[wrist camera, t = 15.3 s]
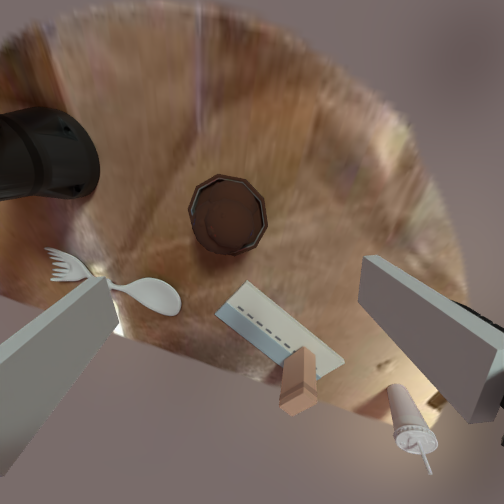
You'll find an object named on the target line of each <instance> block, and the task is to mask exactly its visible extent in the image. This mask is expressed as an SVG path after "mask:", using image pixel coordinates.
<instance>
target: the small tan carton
mask: <svg viewBox="0 0 504 504" xmlns="http://www.w3.org/2000/svg"><path fill="white" fill-rule="evenodd" d="M279 400H280V402H279V407H280V408H281V409H283V410H284V411H285V412H287V413H288V414H289V415H291V416H294V415H296V414H298V413H300V412H302V411H304V410H306V409H308V408H310V407H312V406H313V405H315V404H317V386H316V357H315V354H313V353H312V352H311V351H310V350H308V349H307V348H306V347H305V346H304V347H302V348H301V349H300V350H298V351H297V352H295V353H294V354H292V355H291V356H289V357H288V358H286V359H285V360H284V367H283V376H282V385H281V394H280V399H279Z"/></svg>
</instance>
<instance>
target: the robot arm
mask: <svg viewBox="0 0 504 504" xmlns="http://www.w3.org/2000/svg"><path fill="white" fill-rule="evenodd" d="M99 170H100V169H99V160H98V155H97V152H96V149H95V147H94V144H93V142H92V140H91V138H90V137H89V135H88V134H87V132H86V131H85V129H84V128H83V127H82V126H81V125H80V124H79V123H78V122H77V121H76V120H75V119H74V118H73V117H71V116H70V115H68V114H67V113H65V112H63V111H60V110H57V109H52V108H45V107H32V108H27V109H23V110H18V111H14V112H9V113H5V114H0V201H4V200H10V199H16V198H21V197H27V196H33V195H34V196H42V197H50V198H58V199H75V198H79V197H84V196H86V195H88V194H90V193H91V192H92V191H93V190H94V188H95V187H96V185H97V182H98V179H99ZM358 303H359V304H360V305H361V306H362V307H363V308H364V309H365V310H366V311H367V312H368V314H369V315H370V316H371V317H372V318H373V319H374V320H375V321H376V322H377V324H378V325H379V326H380V327H381V328H382V329H383V330H384V331H385V332H386V333H387V335H388V336H389V337H390V338H391V339H392V340H393V341H394V342H395V343H396V344H397V346H398V347H399V348H400V349H401V350H402V351H403V352H404V353H405V354H406V355H407V357H408V358H409V359H410V360H411V361H412V362H413V363H414V364H415V365H416V366H417V368H418V369H419V370H420V371H421V372H422V373H423V374H424V375H425V376H426V377H427V379H428V380H429V381H430V382H431V383H432V384H433V385H434V386H435V387H436V388H437V390H438V391H439V392H440V393H441V394H442V395H443V396H444V397H445V398H446V399H447V401H448V402H449V403H450V404H451V405H452V406H453V407H454V408H455V409H456V410H457V412H458V413H459V414H460V415H461V416H462V417H463V418H464V419H465V420H466V421H467V422H468V424H473V423H482V422H491V421H494V419H495V417H496V415H497V412H498V410H499V408H500V406H501V407H502V408H503V409H504V328H502V327H500V326H499V325H497V324H493V322H492V321H491V320H489V319H487V318H485V317H484V316H481V315H480V314H479V313H477V312H476V311H474V310H472V309H471V308H469V307H467V306H465V305H463V304H460V303H458V302H455V301H453V300H450V299H448V298H446V297H445V296H443V295H441V294H440V293H438V292H436V291H435V290H433V289H432V288H430V287H428V286H427V285H425V284H424V283H422V282H420V281H419V280H417V279H415V278H414V277H412V276H411V275H409V274H407V273H406V272H404V271H402V270H401V269H399V268H398V267H396V266H394V265H393V264H391V263H390V262H388V261H386V260H385V259H383V258H381V257H380V256H378V255H371V256H363V261H362V269H361V278H360V287H359V295H358ZM118 324H119V320H118V317H117V313H116V310H115V307H114V303H113V300H112V297H111V294H110V290H109V287H108V284H107V280H106V277H105V276H103V277H90V278H88V279H87V280H86V281H84V282H83V283H82V284H80V285H79V286H78V287H76V288H75V289H74V290H72V291H71V292H70V293H68V294H67V295H66V296H64V297H63V298H62V299H60V300H59V301H58V302H56V303H55V304H54V305H52V306H51V307H50V308H48V309H47V310H46V311H44V312H43V313H42V314H41V315H39V316H38V317H37V318H35V319H34V320H33V321H31V322H30V323H29V324H27V325H26V326H25V327H23V328H22V329H21V330H19V331H18V332H17V333H15V334H14V335H13V336H11V337H10V338H9V339H7V340H6V341H5V342H3V343H2V344H1V345H0V477H2V476H5V474H6V473H7V472H8V470H9V469H10V468H11V466H12V465H13V464H14V462H15V461H16V460H17V458H18V457H19V456H20V454H21V453H22V452H23V450H24V449H25V448H26V446H27V445H28V444H29V442H30V441H31V440H32V438H33V437H34V436H35V434H36V433H37V432H38V430H39V429H40V428H41V426H42V425H43V424H44V422H45V421H46V420H47V418H48V417H49V415H50V414H51V413H52V412H53V410H54V409H55V408H56V406H57V405H58V404H59V402H60V401H61V400H62V398H63V397H64V396H65V394H66V393H67V392H68V390H69V389H70V388H71V386H72V385H73V384H74V382H75V381H76V380H77V378H78V377H79V376H80V374H81V373H82V371H83V370H84V369H85V368H86V366H87V365H88V364H89V362H90V361H91V360H92V358H93V357H94V356H95V354H96V353H97V352H98V350H99V349H100V348H101V346H102V345H103V343H104V342H105V341H106V340H107V338H108V337H109V336H110V334H111V333H112V332H113V330H114V329H115V328H116V326H117V325H118ZM501 445H502V446H504V435H503V437H502V440H501Z"/></svg>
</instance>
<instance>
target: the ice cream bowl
mask: <svg viewBox="0 0 504 504" xmlns="http://www.w3.org/2000/svg"><path fill="white" fill-rule="evenodd" d="M188 212H189V216H190V220H191V224H192V229H193V231H194V234H195V235H196V239H197V240H198V241H199V242H200V244H202V245H203V246H204V247H205V248H206V249H207V250H208V251H211V252H214V253H216V254H223V255H226V254H228V255H232V256H236V255H239V254H241V253H244V252H246V251H249V250H251V249H254V248H256V247H257V245H258V243H259V241H260V240H261V238H262V236H263V234H264V233H265V231H266V229H267V227H268V222H267V215H266V208H265V201H264V198H263V197H262V196H261V195H260V194H259V193H258V192H257V190H256V189H255V188H254V187H253V186H252V185H251V184H250V183H249V182H248V181H247V180H246V179H242V178H237V177H231V176H226V175H221V174H217V175H215V176H213V177H212V178H210V179H208V180H206V181H205V182H203V183H201V184H199V185H198V186H196V188H195V191H194V194H193V196H192V199H191V202H190V205H189V207H188Z"/></svg>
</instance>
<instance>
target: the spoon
mask: <svg viewBox="0 0 504 504" xmlns="http://www.w3.org/2000/svg"><path fill="white" fill-rule="evenodd" d="M44 249H46V250H48V251H51V252H54V253H48V254H50V255H54V256H57V257H50V258H51V259H55V260H59V261H63V262H55V263H52V264H53V265H56V266H60V267H64V268H67V269H52V270H54V271H58V272H62V273H53V274H52V275H55V276H59V277H62V278H51V279H50V280H52V281H79V280H81V279H83V278H85V277H86V278H90V277H95V276H93V275H92V274H91V273H90V271H89V270H88V269H87V268H86V266H85V265H84V264H83V263H82V262H81V261H80V260H79V259H77V258H76V257H74V256H72V255H70V254H67V253H65V252H62V251H60V250H57V249H54V248H51V247H45V248H44ZM106 280H107V284H108V287H109V290H110V291H111V290H112V289H116V290H119V291H123V292H125V293H127V294H129V295H130V296H132V297H133V298H135V299H136V300H137V301H139V302H140V303H142V304H143V305H144V306H146V307H148V308H149V309H151V310H153V311H156V312H158V313H160V314H163V315H167V316H174V315H176V314H178V313H179V311H180V309H181V299H180V296H179V294H178V293H177V292H176V290H175V289H174V288H173V287H171V286H170V285H169V284H167V283H166V282H164V281H162V280H159V279H155V278H143V279H139V280H137V281H134V282H132V283H130V284H128V285H116V284H114V283H113V282H112V281H111V280H110V279H106Z"/></svg>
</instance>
